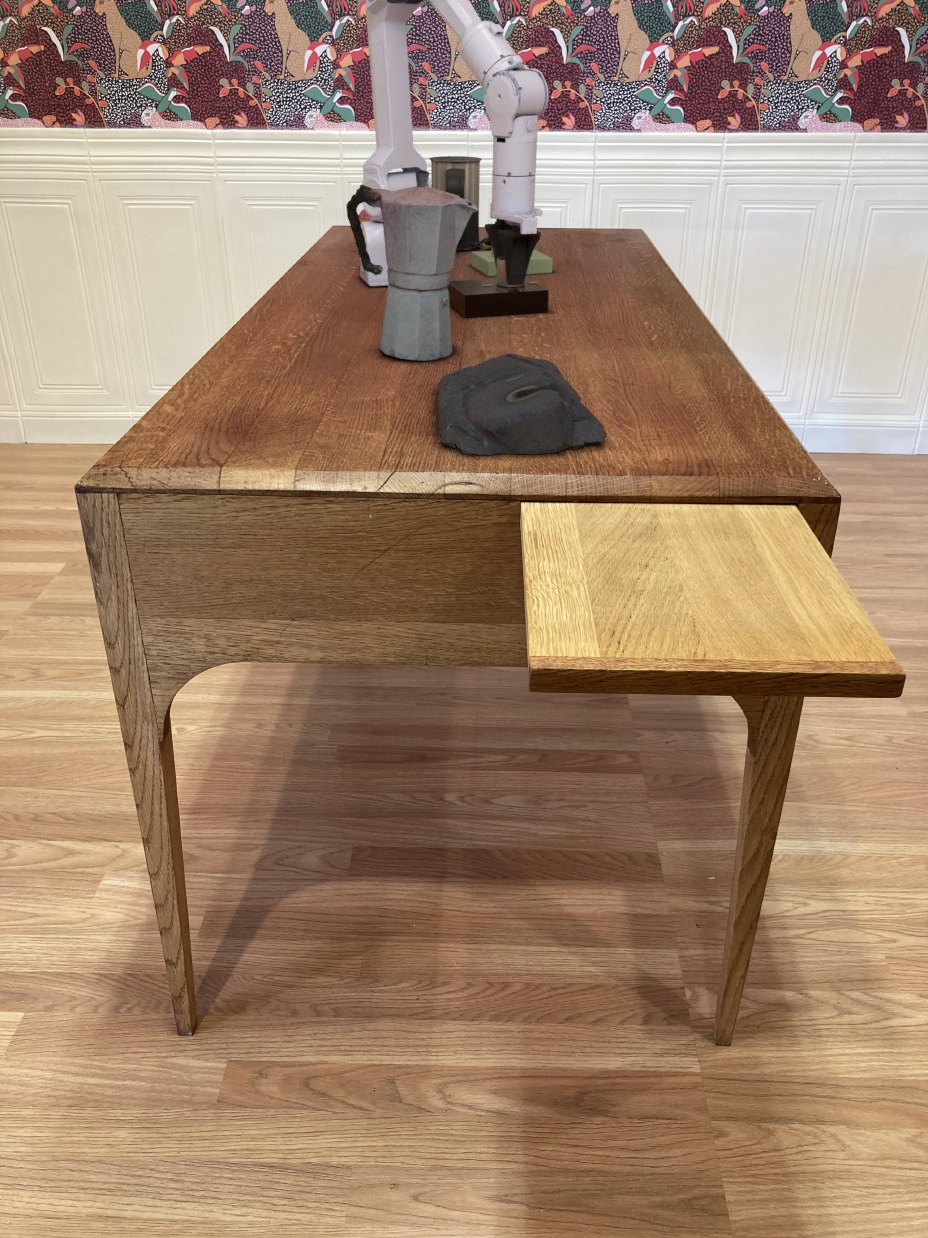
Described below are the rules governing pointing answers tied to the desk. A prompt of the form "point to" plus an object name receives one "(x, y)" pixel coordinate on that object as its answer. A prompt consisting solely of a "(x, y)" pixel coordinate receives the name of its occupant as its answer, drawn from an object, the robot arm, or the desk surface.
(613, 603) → the desk surface
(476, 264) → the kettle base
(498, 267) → the temp dial
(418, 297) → the moka pot
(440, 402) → the slotted grey rock
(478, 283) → the panel
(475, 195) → the milk frother
